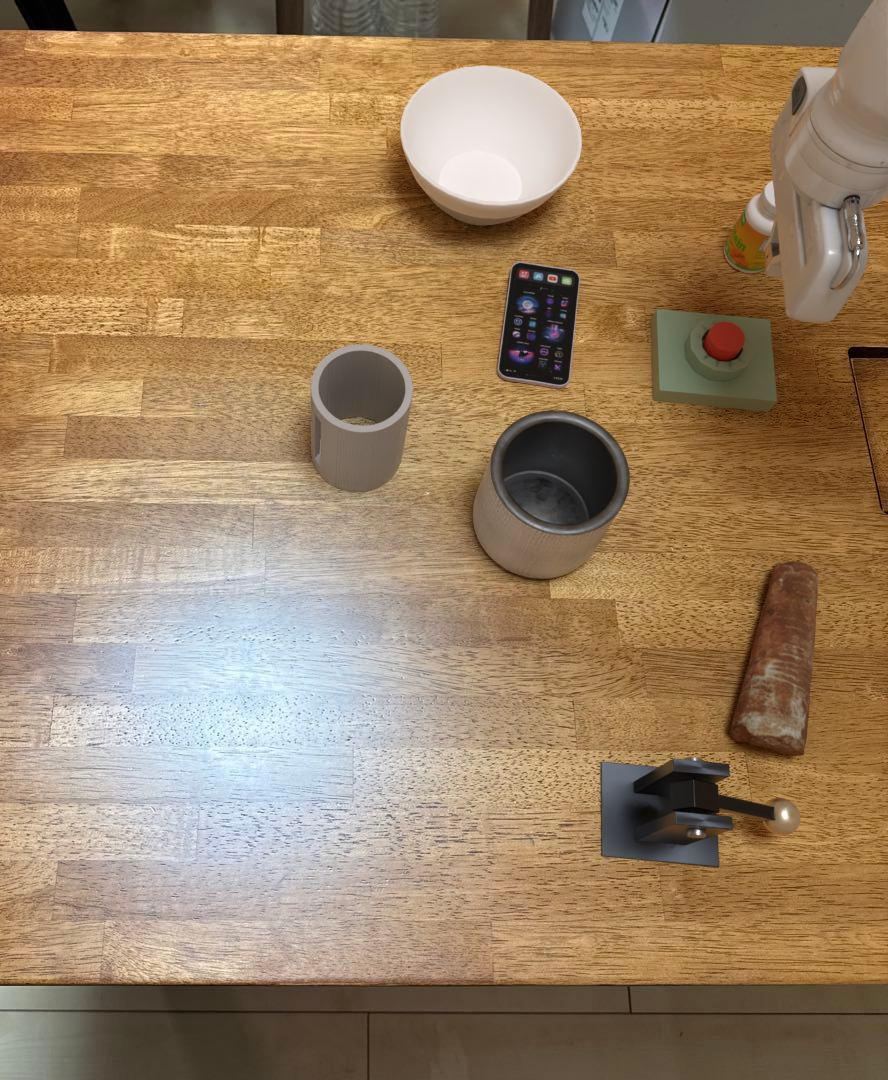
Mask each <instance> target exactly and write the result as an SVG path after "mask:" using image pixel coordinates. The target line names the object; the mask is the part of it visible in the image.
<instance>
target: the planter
mask: <svg viewBox="0 0 888 1080" xmlns="http://www.w3.org/2000/svg"><path fill="white" fill-rule="evenodd" d="M630 484H631V474H630V467H629V463H628V460H627V456H626V454H625V452H624V450H623V448H622V447H621V445H620V443H619V442H618V441H617V440H616V439H615V437H614V436H613V435H612V434H611V433H610V432H609V431H608V430H607V429H606V428H604V427H603V426H602V425H601V424H599V423H597V422H596V421H594V420H592V419H591V418H589V417H586V416H585V415H581V414H578V413H575V412H572V411H567V410H559V409H558V410H557V409H549V410H540V411H535V412H532V413H529V414H526V415H524V416H522V417H520V418H518V419H517V420H515V421H514V422H512V423H511V424H509V425H508V426H507V427H505V430H503V432H502V433H501V434H500V436H499V437H498V438H497V440H496V442H495V444H494V446H493V449H492V452H491V453H490V457H489V459H488V462H487V465H486V468H485V471H484V473H483V476H482V478H481V481H480V483H479V486H478V489H477V491H476V494H475V496H474V500H473V505H472V523H473V529H474V532H475V535H476V537H477V538H476V539H477V540H478V542H479V544H480V545H481V547H482V549H483V550H484V551H485V553H486V554H487V555H488V556H489V558H491V559H492V560H493V561H494V562H495V563H496V564H497V565H499V566H500V567H502V568H504V569H505V570H507V571H508V572H510V573H513V574H514V575H518V576H520V577H521V576H522V577H525V578H529V579H536V580H544V579H545V580H547V579H554V578H559V577H562V576H565V575H567V574H570V573H572V572H574V571H575V570H578V568H580V567H581V566H583V564H585V563H586V562H587V561H588V560H589V559H590V558H591V556H592V555H593V554H594V553H595V551H596V550H597V548H598V546H599V545H600V543H601V541H602V540H603V538H604V537H605V535H606V534H607V531H608V530H609V529H610V527H611V525H612V524H613V522H614V521H615V519H616V518H617V516H618V514H619V513H620V512H621V510H622V508H623V506H624V504H625V502H626V500H627V498H628V495H629V490H630Z"/></svg>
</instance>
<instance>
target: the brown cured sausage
mask: <svg viewBox="0 0 888 1080" xmlns="http://www.w3.org/2000/svg"><path fill="white" fill-rule="evenodd" d="M818 584H819V575H818V573H817V572H816V570H815V569H814V568H813V567H812V566H811V565H809V564H807V563H805V562H802V561H797V560H795V561H794V560H793V561H786V562H781V563H777V564H776V565H774V566H773V567H772V569H771V576H770V581H769V585H768V589H767V593H766V597H765V599H764V603H763V606H762V609H761V613H760V616H759V622H758V625H757V628H756V633H755V635H754V636H755V637H754V640H753V643H752V648H751V651H750V652H751V653H750V658H749V661H748V666H747V667H746V668H747V669H746V672H745V675H744V679H743V681H742V685H741V689H740V693H739V697H738V700H737V704H736V707H735V711H734V715H733V718H732V722H731V727H730V730H729V734H730V737H731V739H733V740H734V741H735V742H737V743H748V744H749V745H750V746H754V747H755V746H756V747H760V748H761V749H762V748H764V749H767V750H770V751H773V752H776V753H781V754H784V755H787V756H792V757H801V756H804V755H805V749H806V743H807V737H808V727H809V717H810V705H811V684H812V674H813V669H814V668H813V667H814V654H815V643H816V631H817V630H816V628H817V610H818V597H819V595H818V594H819V585H818Z"/></svg>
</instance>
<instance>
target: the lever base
mask: <svg viewBox="0 0 888 1080" xmlns="http://www.w3.org/2000/svg"><path fill="white" fill-rule="evenodd" d="M599 763H600V764H599V766H600V768H599V769H600V771H599V772H600V779H599V781H600V856H601V857H606V858H616V859H626V860H636V861H647V862H659V863H668V864H677V865H687V866H688V865H689V866H698V867H709V868H720V851H719V835H720V834H724V833H727V832H730V831H732V830H733V831H734V824H733V823H734V821H733V816H731V815H720V814H718V813H713V814H701V813H691V812H680V811H674V810H671V789H670V782H674V781H681V780H688V779H696V780H700V781H705V782H709V783H713V784H717V783H719V782H721V781H724V780H725V779H728V778H730V777H731V770H730V763H726V762H725V763H724V762H716V761H706V760H705V761H704V760H703V758H701V757H697V756H688V757H684V758H671V759H670V760H668V761H667V762H665V763H663V764H661V765H660V766H653V765H644V764H643V765H642V764H632V763H621V762H612V761H611V762H609V761H600V762H599Z"/></svg>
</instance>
